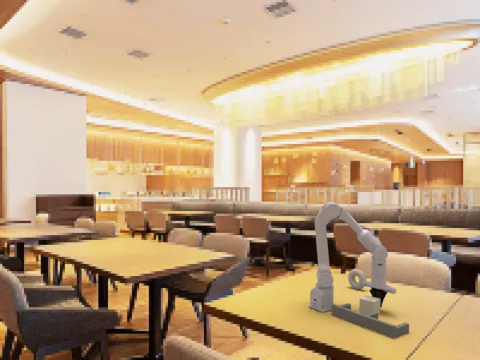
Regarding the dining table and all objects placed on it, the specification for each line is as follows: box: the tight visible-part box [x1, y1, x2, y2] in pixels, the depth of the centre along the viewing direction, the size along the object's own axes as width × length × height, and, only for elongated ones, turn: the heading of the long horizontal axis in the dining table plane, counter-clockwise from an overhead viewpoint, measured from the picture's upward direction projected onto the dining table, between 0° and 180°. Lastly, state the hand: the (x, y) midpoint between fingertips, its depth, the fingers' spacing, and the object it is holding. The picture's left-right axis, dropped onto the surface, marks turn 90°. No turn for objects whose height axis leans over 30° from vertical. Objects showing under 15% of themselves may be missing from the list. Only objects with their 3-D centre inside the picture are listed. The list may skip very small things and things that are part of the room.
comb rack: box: [331, 302, 410, 339], centre depth 140 cm, size 10×26×4 cm, turn 35°
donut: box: [347, 268, 368, 291], centre depth 185 cm, size 10×4×10 cm, turn 36°
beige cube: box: [359, 295, 381, 316], centre depth 150 cm, size 6×6×6 cm
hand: (378, 307), depth 153 cm, fingers closed
